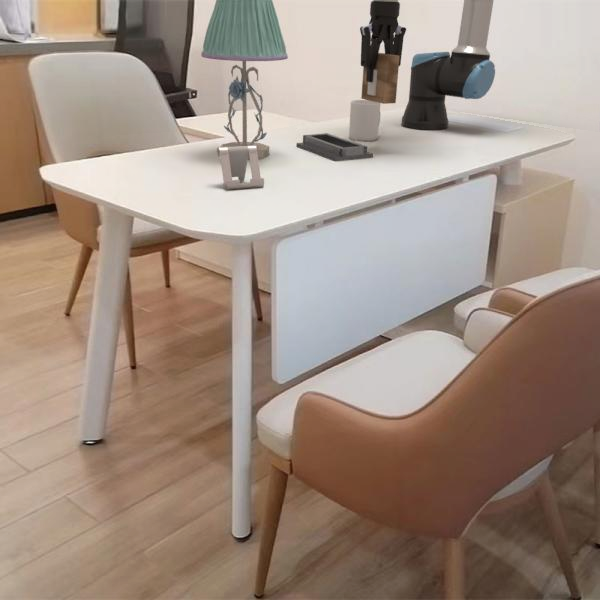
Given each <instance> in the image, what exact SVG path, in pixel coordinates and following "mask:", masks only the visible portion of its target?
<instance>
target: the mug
mask: <svg viewBox="0 0 600 600" xmlns="http://www.w3.org/2000/svg"><path fill="white" fill-rule="evenodd" d="M349 112H350V113H349V131H348V135H349V136H348V137H349V139H350V140H351V141H352V140H353V141H356V140H357V142H373V141H374V142H375V141H376V140H377V139H378V137H379V126H380V123H381V103H378V102H374V101H369V100H365V99H354V100H351V101H350V110H349Z"/></svg>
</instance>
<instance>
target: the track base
mask: <svg viewBox="0 0 600 600" xmlns="http://www.w3.org/2000/svg"><path fill="white" fill-rule="evenodd" d="M296 147H297V148H299V149H301V150H305V151H308V152H309V153H313V154H315V155H318V156H321V157H323V158H324V159H328V160H331V161H333V162H339V161H349V160H359V159H369V158H374V153H373V152H370V151H368V146H367V145H363V144H361V143H357V142H355V141H352V140H348V139H345V138H342V137H340V136H337V135H334V134H330V133H327V132H326V133H314V134H303V136H302V142H296Z"/></svg>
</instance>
